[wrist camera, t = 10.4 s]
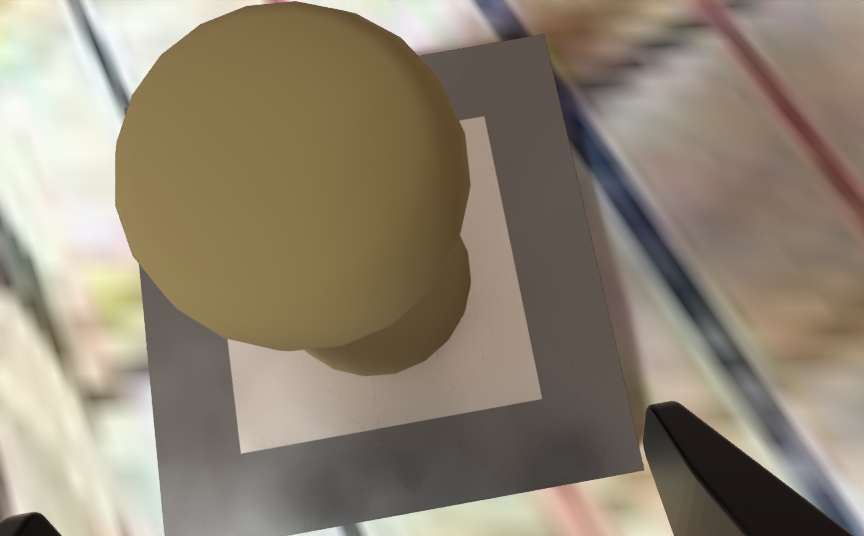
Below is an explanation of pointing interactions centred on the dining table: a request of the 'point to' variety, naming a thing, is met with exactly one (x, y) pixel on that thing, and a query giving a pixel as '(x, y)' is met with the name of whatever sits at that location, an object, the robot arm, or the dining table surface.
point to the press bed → (427, 381)
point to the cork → (300, 187)
